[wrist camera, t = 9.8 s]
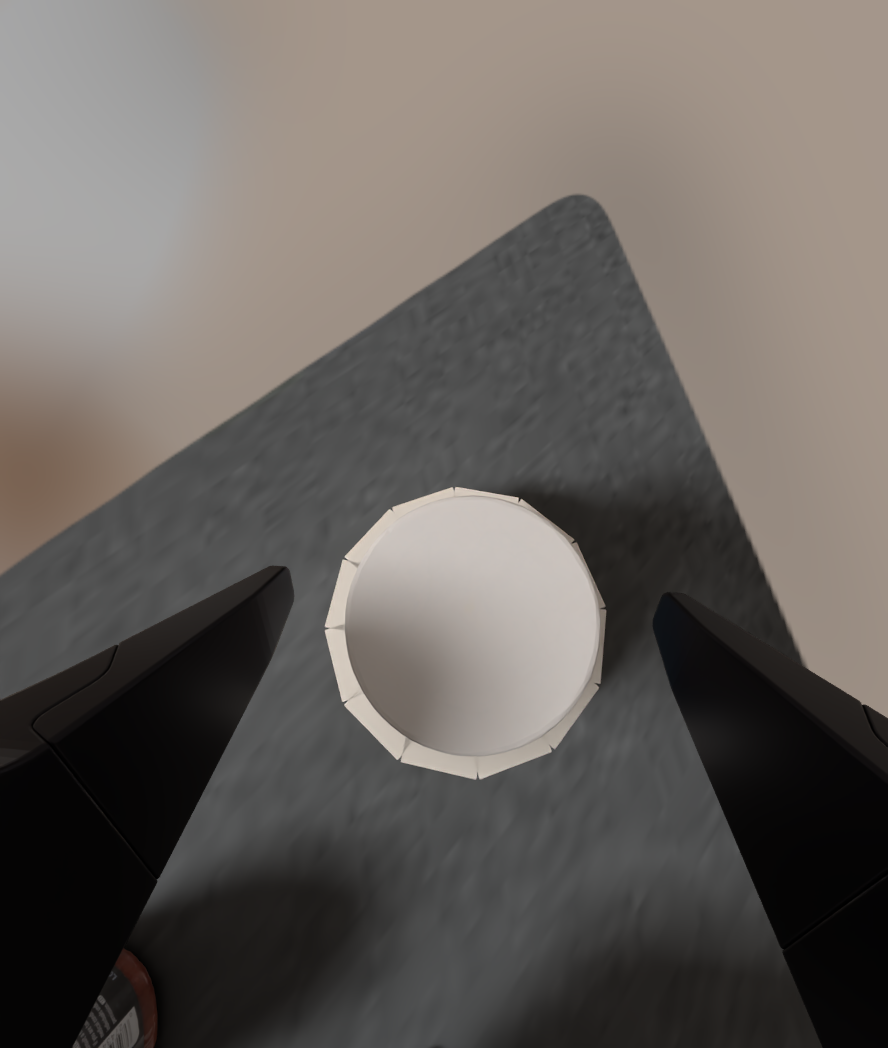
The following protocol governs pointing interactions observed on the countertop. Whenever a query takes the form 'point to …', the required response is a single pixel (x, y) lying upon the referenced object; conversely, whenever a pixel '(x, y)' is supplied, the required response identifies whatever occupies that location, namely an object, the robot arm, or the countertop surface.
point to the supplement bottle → (122, 1009)
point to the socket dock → (383, 729)
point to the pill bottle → (472, 625)
